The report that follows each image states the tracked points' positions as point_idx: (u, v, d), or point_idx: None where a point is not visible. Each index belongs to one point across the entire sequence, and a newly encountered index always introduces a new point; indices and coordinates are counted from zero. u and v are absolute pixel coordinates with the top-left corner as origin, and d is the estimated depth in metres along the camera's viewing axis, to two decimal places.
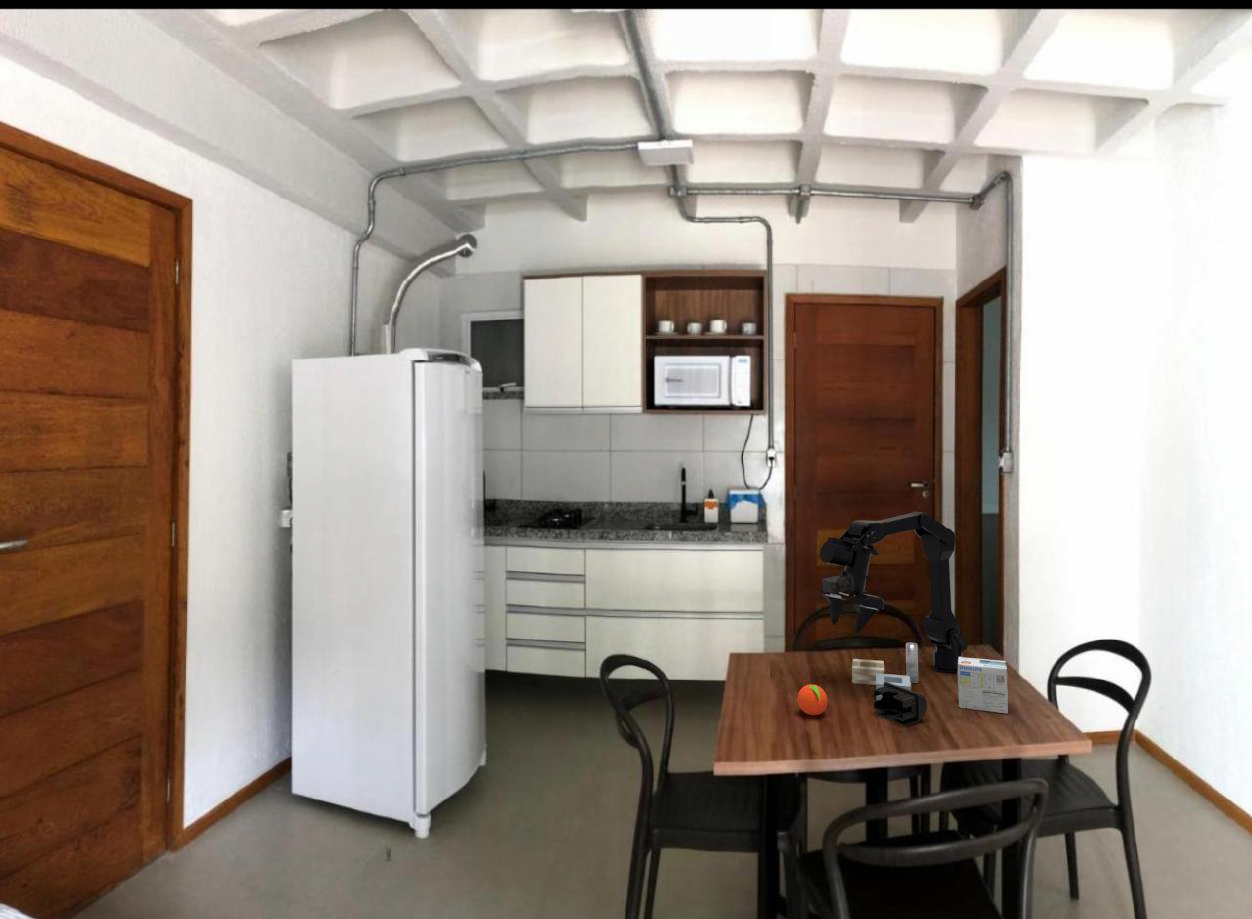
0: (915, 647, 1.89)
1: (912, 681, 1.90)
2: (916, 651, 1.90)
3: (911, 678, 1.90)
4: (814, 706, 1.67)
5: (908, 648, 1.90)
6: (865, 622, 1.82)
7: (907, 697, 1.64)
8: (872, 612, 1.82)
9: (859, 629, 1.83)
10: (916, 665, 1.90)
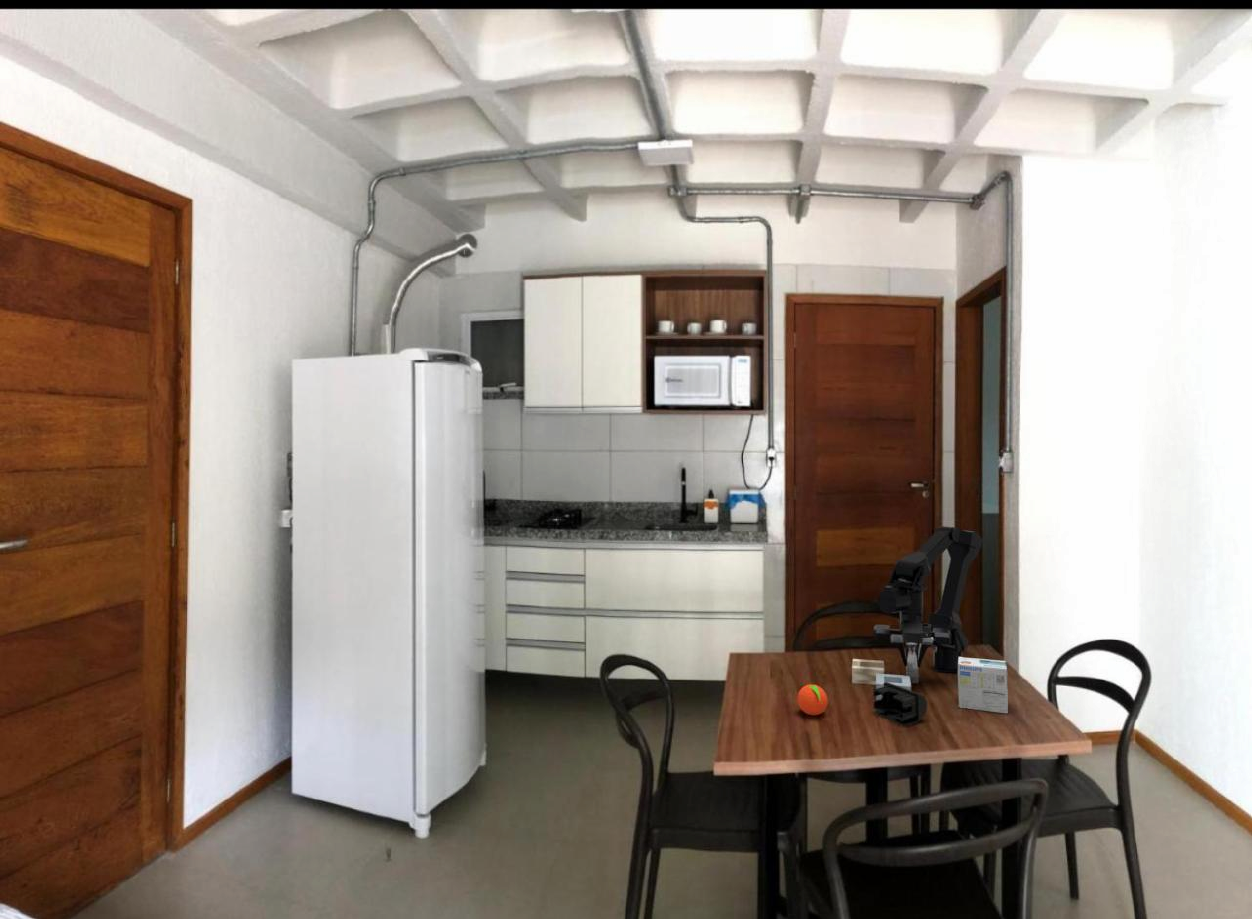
0: (915, 647, 1.89)
1: (912, 681, 1.90)
2: (916, 651, 1.90)
3: (911, 678, 1.90)
4: (814, 706, 1.67)
5: (908, 648, 1.90)
6: None
7: (907, 697, 1.64)
8: None
9: (920, 663, 1.90)
10: (916, 665, 1.90)
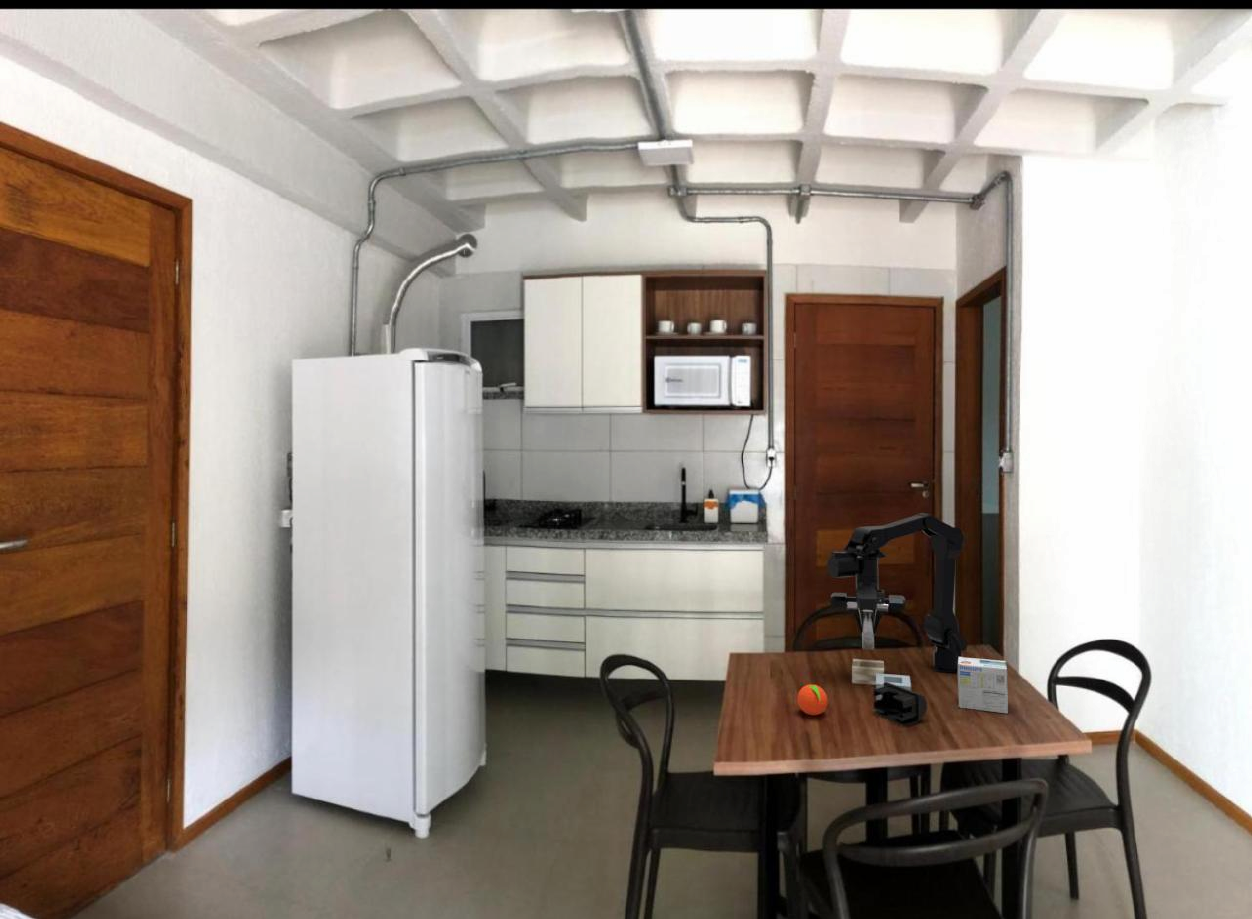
0: (871, 614, 1.92)
1: (868, 647, 1.92)
2: (871, 618, 1.92)
3: (867, 644, 1.92)
4: (814, 706, 1.67)
5: (864, 615, 1.92)
6: None
7: (907, 697, 1.64)
8: None
9: (876, 629, 1.93)
10: (871, 632, 1.92)
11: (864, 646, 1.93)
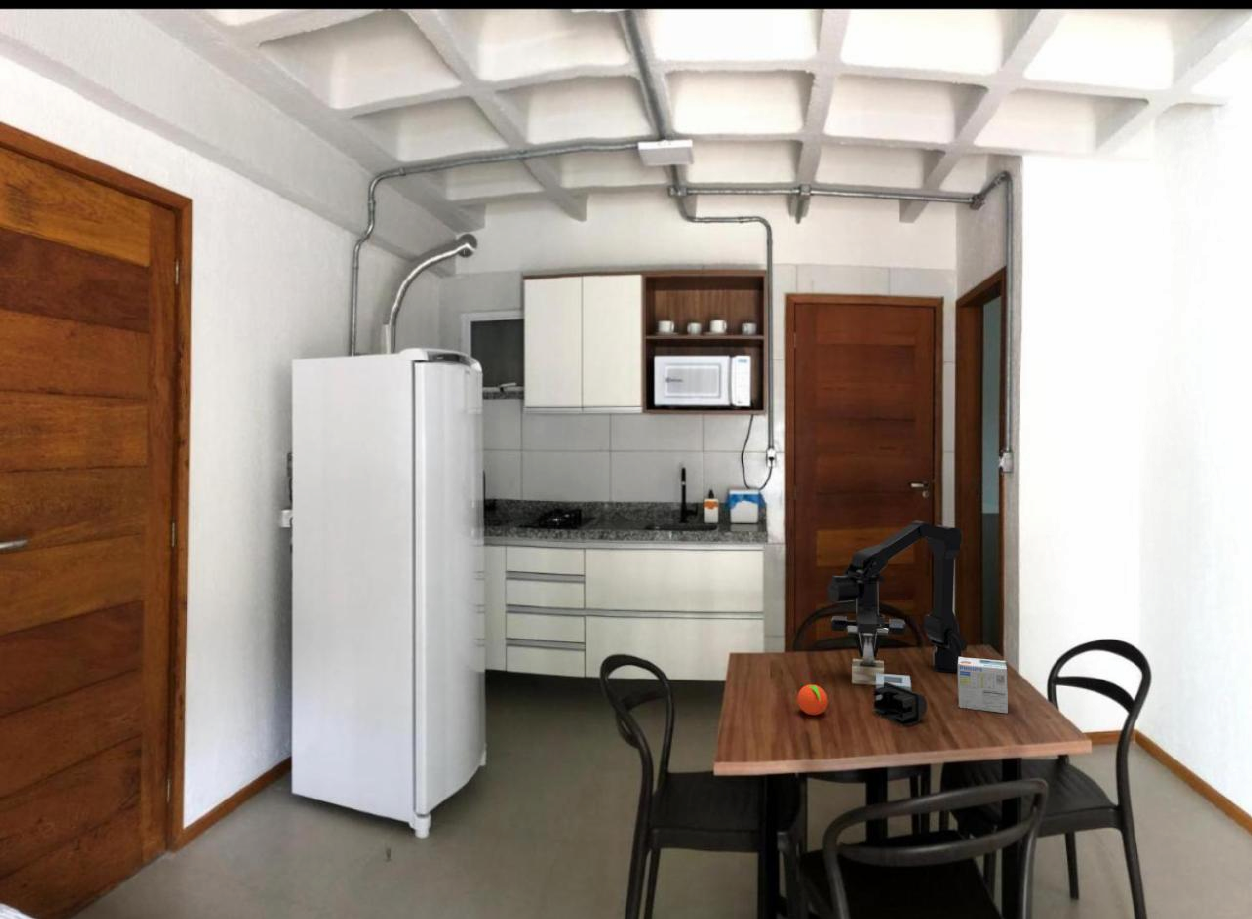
0: (871, 638, 1.92)
1: None
2: (872, 642, 1.92)
3: None
4: (814, 706, 1.67)
5: (864, 639, 1.93)
6: None
7: (907, 697, 1.64)
8: None
9: (876, 653, 1.93)
10: (872, 656, 1.92)
11: None
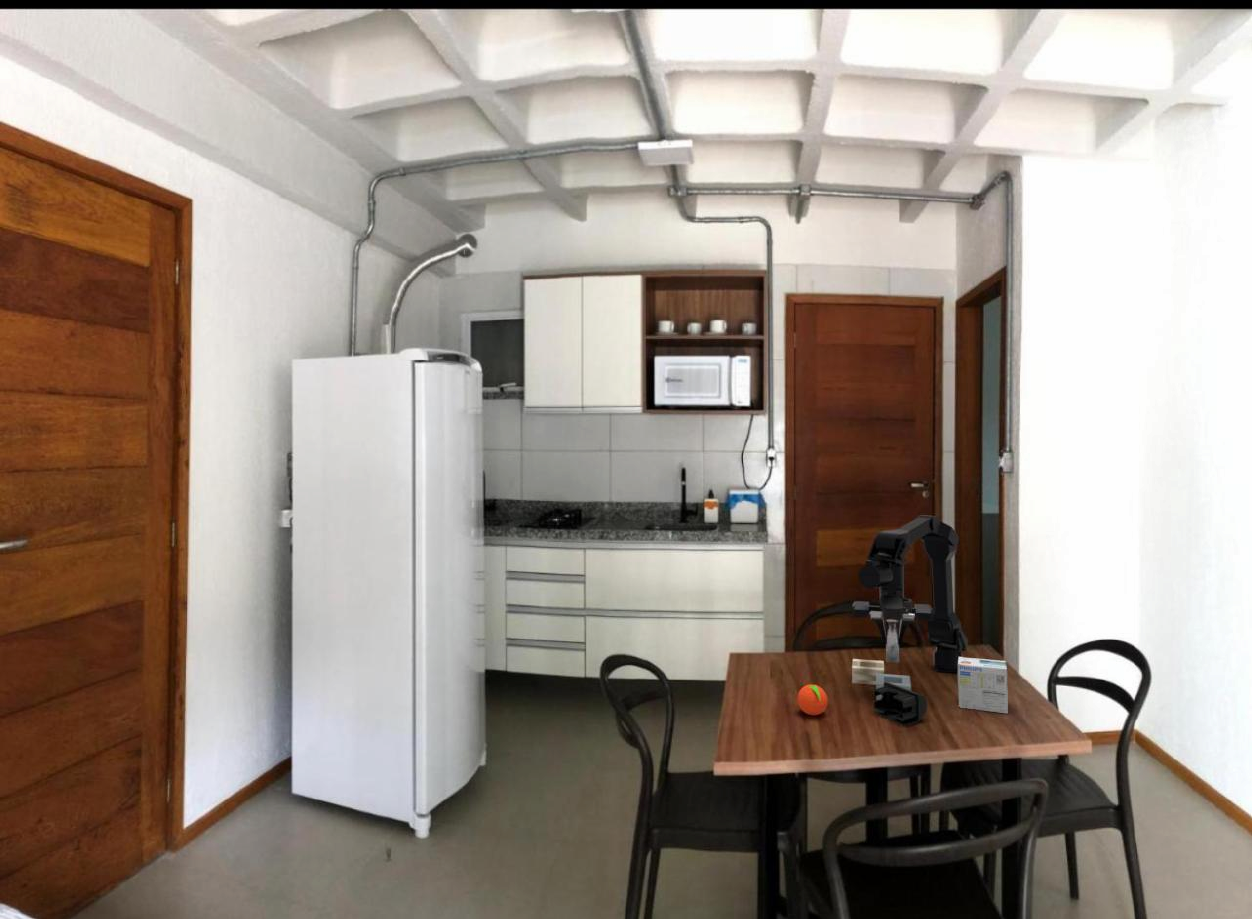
0: (896, 624, 1.79)
1: (892, 660, 1.80)
2: (896, 628, 1.80)
3: (891, 657, 1.80)
4: (814, 707, 1.67)
5: (888, 625, 1.80)
6: None
7: (907, 697, 1.64)
8: None
9: (901, 641, 1.81)
10: (896, 643, 1.80)
11: (888, 658, 1.80)
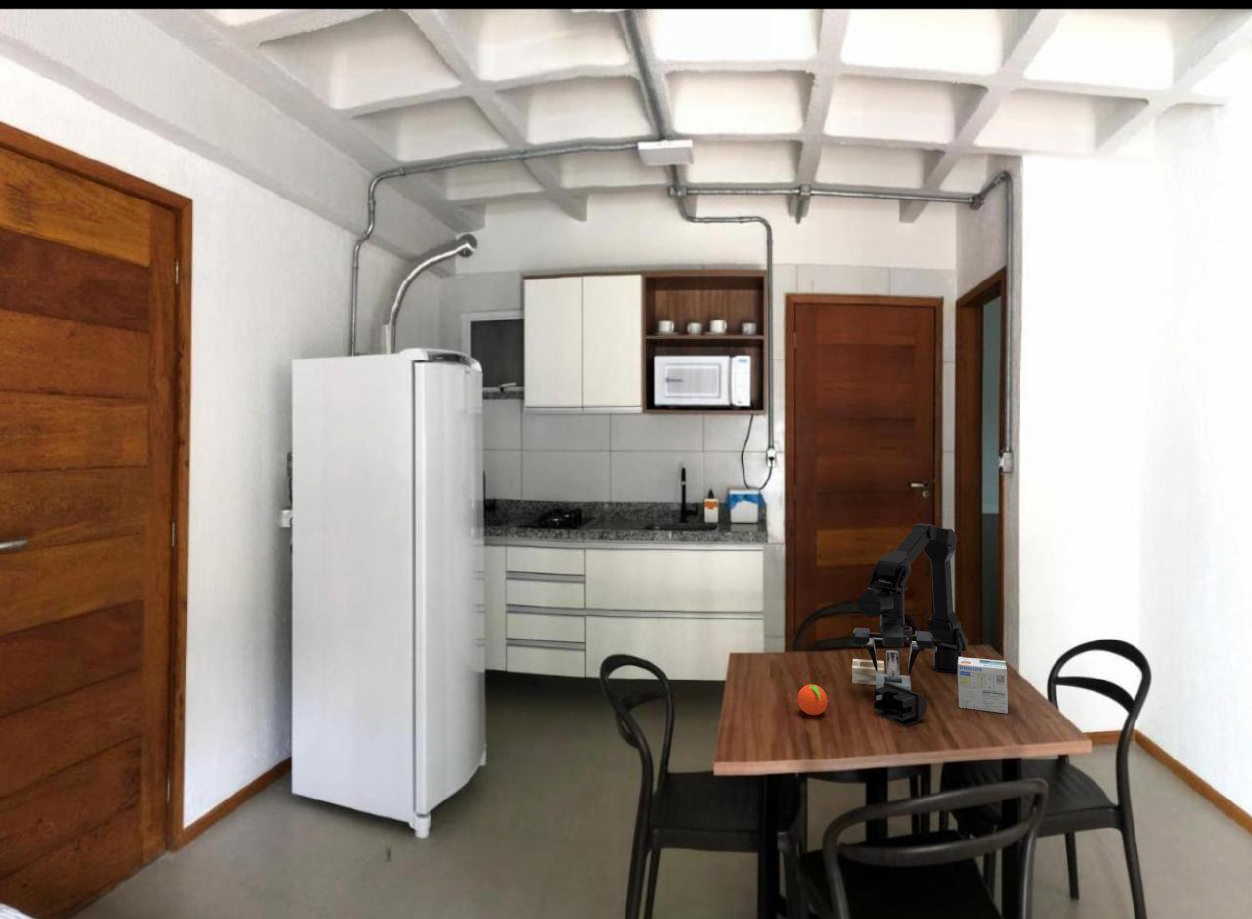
0: (896, 655, 1.80)
1: None
2: (897, 659, 1.80)
3: None
4: (814, 707, 1.67)
5: (888, 656, 1.80)
6: None
7: (907, 697, 1.64)
8: None
9: (911, 668, 1.80)
10: (897, 674, 1.80)
11: None
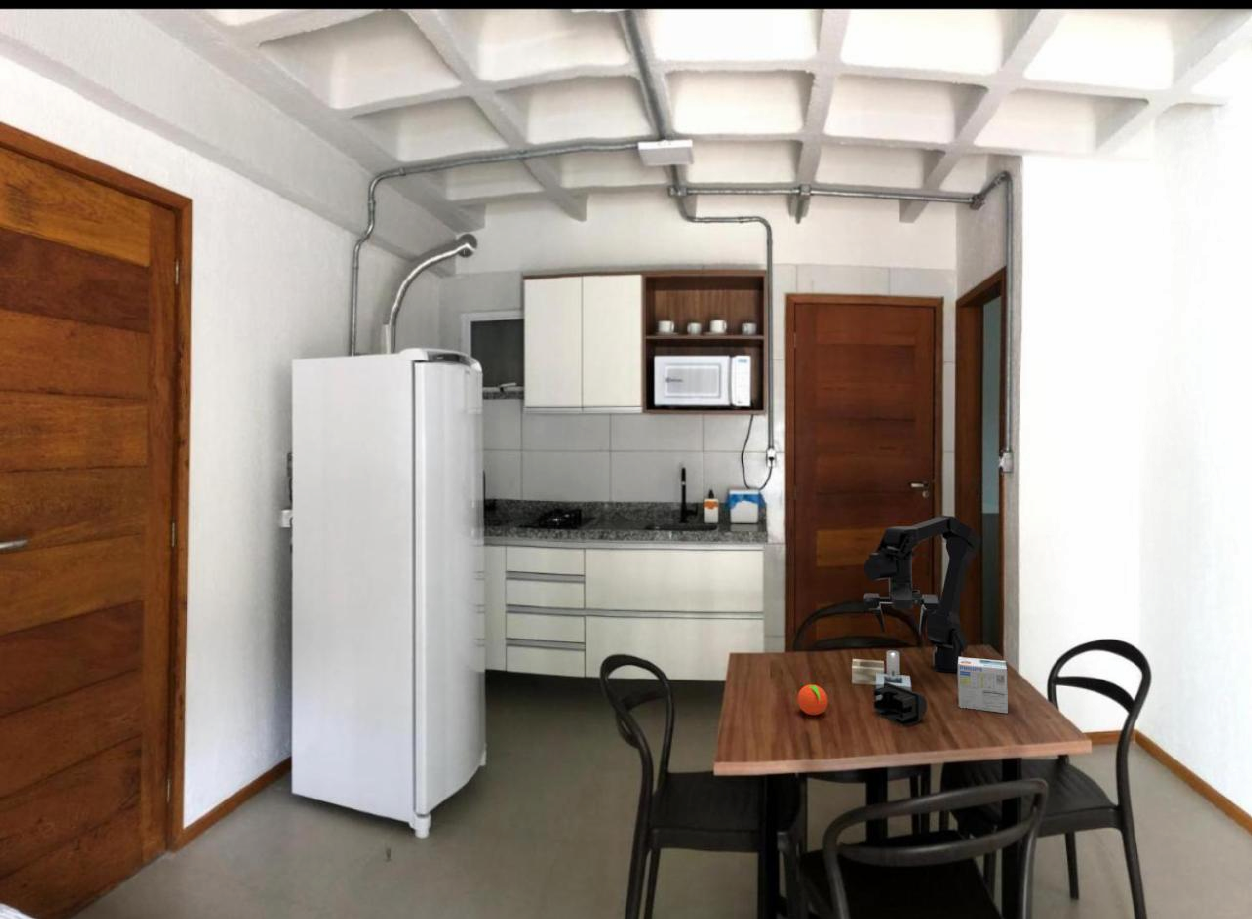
0: (896, 655, 1.80)
1: None
2: (897, 660, 1.80)
3: None
4: (814, 707, 1.67)
5: (889, 656, 1.80)
6: None
7: (907, 697, 1.64)
8: None
9: (922, 630, 1.90)
10: (897, 674, 1.80)
11: None
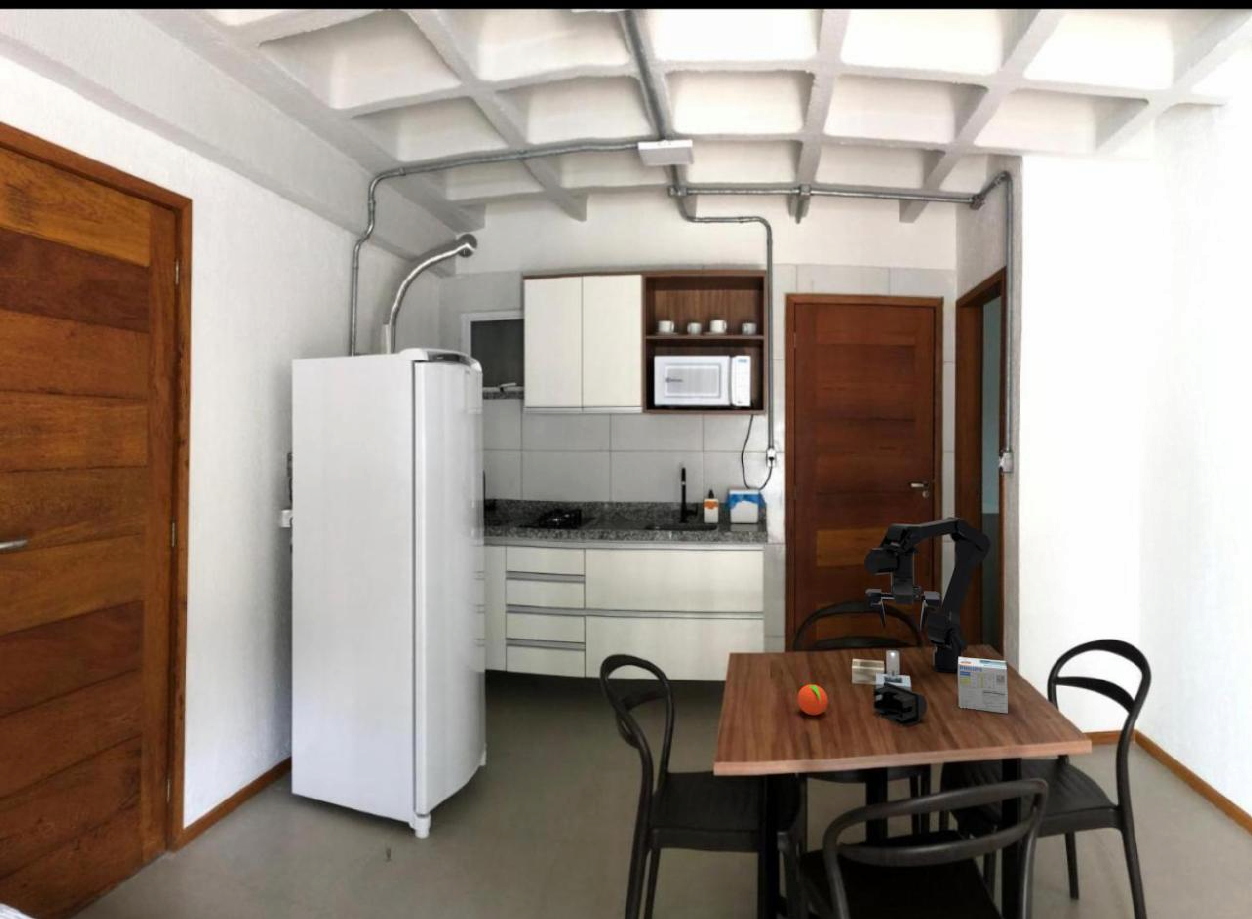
0: (896, 655, 1.80)
1: None
2: (897, 659, 1.80)
3: None
4: (814, 706, 1.67)
5: (889, 656, 1.80)
6: None
7: (907, 697, 1.64)
8: None
9: (923, 626, 1.93)
10: (897, 674, 1.80)
11: None
